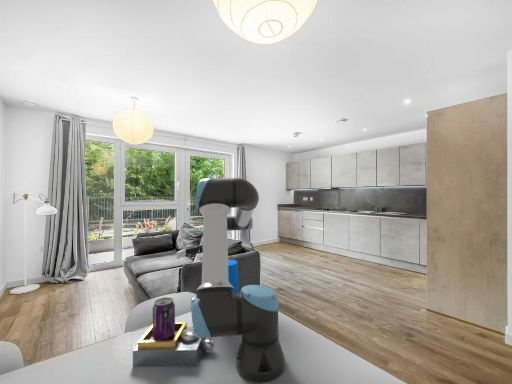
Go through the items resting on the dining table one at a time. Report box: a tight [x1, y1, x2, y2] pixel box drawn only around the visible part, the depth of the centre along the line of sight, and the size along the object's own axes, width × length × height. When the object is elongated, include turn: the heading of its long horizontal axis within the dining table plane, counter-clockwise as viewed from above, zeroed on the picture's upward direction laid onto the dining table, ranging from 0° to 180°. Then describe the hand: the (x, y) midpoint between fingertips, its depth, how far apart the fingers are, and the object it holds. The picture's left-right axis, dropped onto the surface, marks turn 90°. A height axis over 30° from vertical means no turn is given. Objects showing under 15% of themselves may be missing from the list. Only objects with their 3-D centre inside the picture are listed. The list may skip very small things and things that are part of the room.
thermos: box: [228, 259, 240, 293], centre depth 100 cm, size 11×11×25 cm
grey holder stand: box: [132, 321, 216, 368], centre depth 82 cm, size 24×14×7 cm, turn 89°
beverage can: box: [152, 296, 176, 340], centre depth 82 cm, size 7×7×12 cm
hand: (192, 255), depth 98 cm, fingers open, 13 cm apart
